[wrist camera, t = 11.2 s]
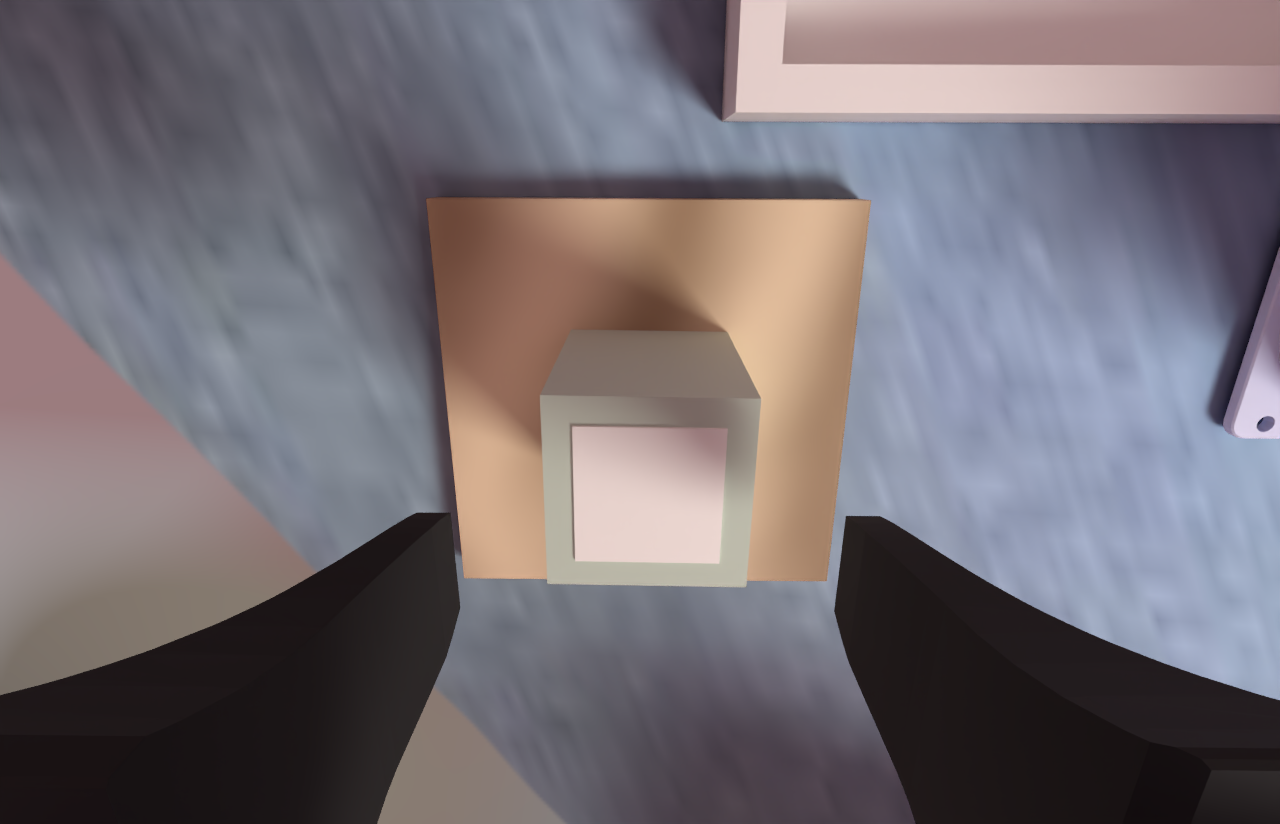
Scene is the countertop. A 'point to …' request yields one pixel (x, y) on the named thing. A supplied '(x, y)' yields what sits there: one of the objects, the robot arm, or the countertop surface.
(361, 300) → the countertop surface
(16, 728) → the robot arm
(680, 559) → the gray box
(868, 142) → the countertop surface
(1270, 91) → the bin
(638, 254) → the oak board
